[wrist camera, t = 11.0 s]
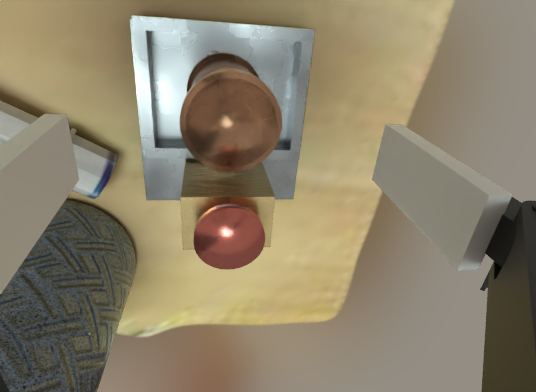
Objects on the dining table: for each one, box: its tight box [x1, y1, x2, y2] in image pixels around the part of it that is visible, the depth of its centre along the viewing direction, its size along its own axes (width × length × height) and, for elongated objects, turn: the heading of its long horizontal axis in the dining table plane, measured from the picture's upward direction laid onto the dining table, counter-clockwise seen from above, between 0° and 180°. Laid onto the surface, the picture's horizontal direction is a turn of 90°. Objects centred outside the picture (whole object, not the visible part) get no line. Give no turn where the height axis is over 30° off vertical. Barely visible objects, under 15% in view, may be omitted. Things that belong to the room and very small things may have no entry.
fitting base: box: [130, 15, 315, 269], centre depth 24 cm, size 14×13×11 cm
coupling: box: [180, 52, 282, 172], centre depth 23 cm, size 6×6×9 cm
